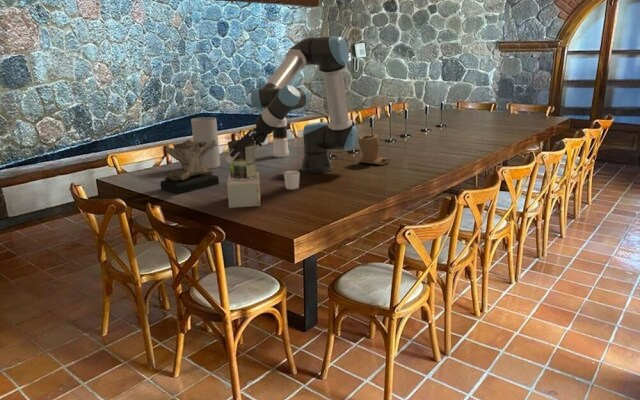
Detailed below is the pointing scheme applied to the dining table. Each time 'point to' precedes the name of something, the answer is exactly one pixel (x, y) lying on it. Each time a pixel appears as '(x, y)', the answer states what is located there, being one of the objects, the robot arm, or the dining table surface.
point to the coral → (190, 168)
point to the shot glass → (292, 179)
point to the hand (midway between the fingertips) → (237, 157)
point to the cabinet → (244, 192)
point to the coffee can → (243, 162)
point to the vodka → (280, 140)
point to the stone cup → (371, 150)
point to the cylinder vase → (207, 139)
